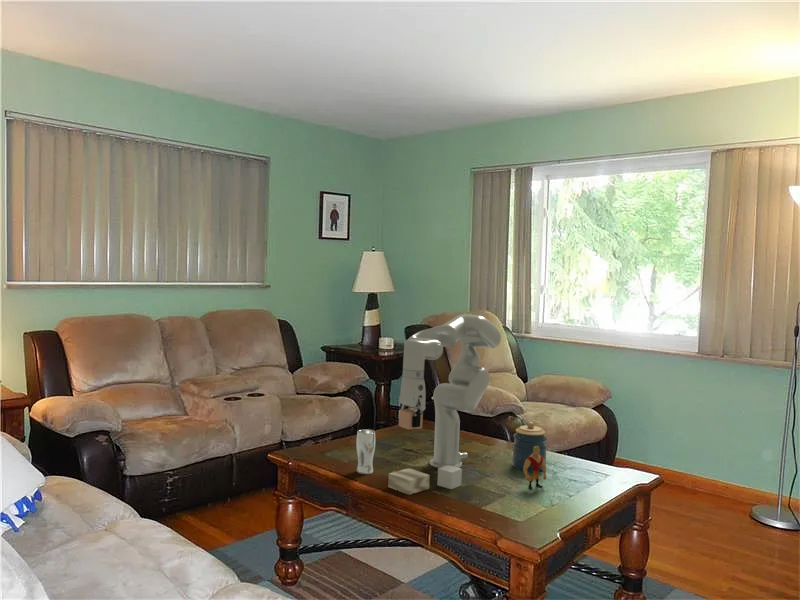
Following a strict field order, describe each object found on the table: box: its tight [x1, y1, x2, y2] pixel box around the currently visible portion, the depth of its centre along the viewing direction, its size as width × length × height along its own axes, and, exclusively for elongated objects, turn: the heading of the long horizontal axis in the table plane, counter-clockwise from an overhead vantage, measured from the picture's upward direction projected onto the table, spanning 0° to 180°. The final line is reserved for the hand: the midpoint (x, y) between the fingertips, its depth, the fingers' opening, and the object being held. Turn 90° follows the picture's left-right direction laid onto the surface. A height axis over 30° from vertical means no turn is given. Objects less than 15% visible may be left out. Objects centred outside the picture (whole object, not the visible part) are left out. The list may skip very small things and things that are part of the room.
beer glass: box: [356, 428, 376, 475], centre depth 235 cm, size 7×7×15 cm
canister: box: [511, 421, 548, 472], centre depth 248 cm, size 13×13×18 cm
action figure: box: [522, 446, 547, 490], centre depth 224 cm, size 10×4×15 cm, turn 114°
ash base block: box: [387, 467, 431, 496], centre depth 220 cm, size 10×10×5 cm
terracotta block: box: [398, 407, 424, 431], centre depth 227 cm, size 6×6×6 cm
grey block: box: [437, 465, 463, 490], centre depth 224 cm, size 6×6×6 cm
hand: (410, 424), depth 227 cm, fingers closed on terracotta block, 6 cm apart
